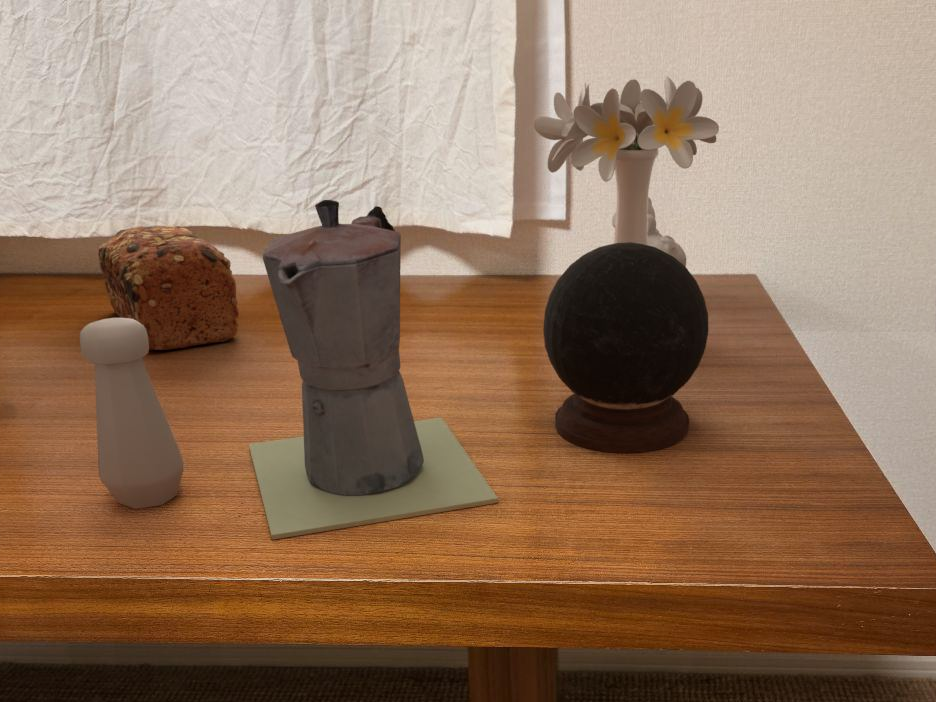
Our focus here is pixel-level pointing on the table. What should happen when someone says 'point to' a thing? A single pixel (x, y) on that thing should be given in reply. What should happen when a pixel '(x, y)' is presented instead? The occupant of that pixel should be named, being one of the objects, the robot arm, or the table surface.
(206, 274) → the bread
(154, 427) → the salt shaker
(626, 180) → the flower vase
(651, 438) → the black ball on stand
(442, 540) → the table surface
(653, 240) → the dog figurine
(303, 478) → the centre mat
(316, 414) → the moka pot
